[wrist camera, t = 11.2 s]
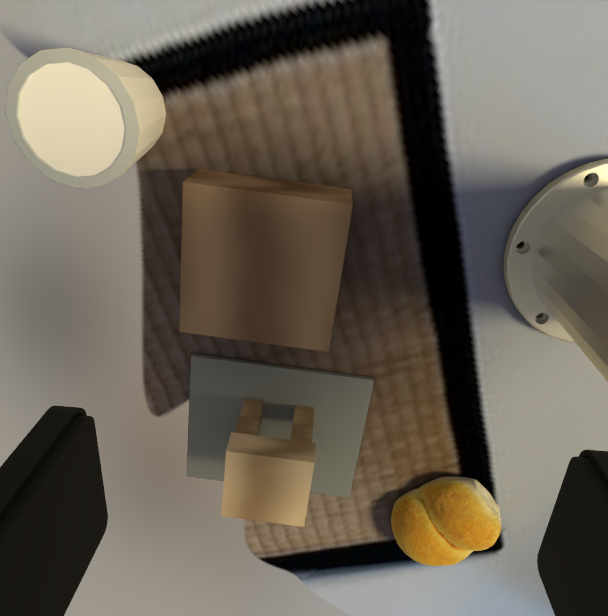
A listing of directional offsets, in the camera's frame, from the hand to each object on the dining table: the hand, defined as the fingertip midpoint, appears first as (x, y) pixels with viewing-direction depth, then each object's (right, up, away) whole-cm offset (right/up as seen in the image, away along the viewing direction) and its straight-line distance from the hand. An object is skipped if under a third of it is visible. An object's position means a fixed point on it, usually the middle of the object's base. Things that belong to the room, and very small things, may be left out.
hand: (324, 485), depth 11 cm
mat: (-3, -6, +33) cm, 34 cm away
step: (-3, +7, +26) cm, 27 cm away
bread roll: (+12, -14, +36) cm, 40 cm away
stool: (-3, -6, +32) cm, 33 cm away
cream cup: (-12, +16, +23) cm, 30 cm away
